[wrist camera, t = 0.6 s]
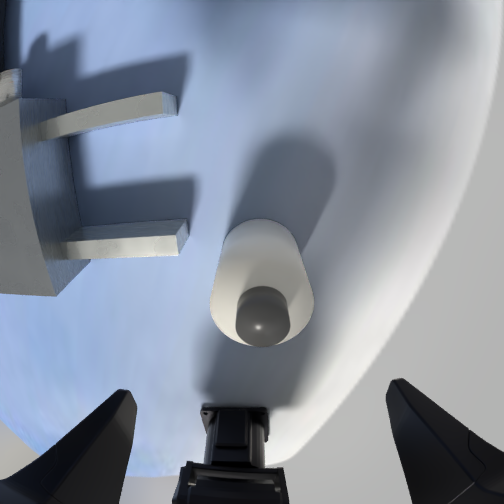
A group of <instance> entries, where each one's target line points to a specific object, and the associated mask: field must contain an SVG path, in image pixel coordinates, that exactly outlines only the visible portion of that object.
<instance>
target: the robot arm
mask: <svg viewBox="0 0 504 504" xmlns="http://www.w3.org/2000/svg"><path fill="white" fill-rule="evenodd" d="M386 403H387V408H388V413H389V418H390V423H391V429H392V433H393V438H394V441H395V444H396V448H397V451H398V454H399V457H400V461H401V464H402V467H403V471H404V474H405V478H406V482H407V485H408V489H409V492H410V496H411V500H412V504H504V452H502V451H501V450H499V449H497V448H496V447H494V446H492V445H491V444H489V443H488V442H486V441H485V440H483V439H482V438H480V437H479V436H477V435H476V434H475V433H474V432H472V431H471V430H469V429H468V428H467V427H466V426H464V425H463V424H462V423H461V422H459V421H458V420H456V419H455V418H454V417H453V416H451V415H450V414H449V413H447V412H446V411H445V410H444V409H442V408H441V407H440V406H438V405H437V404H436V403H435V402H433V401H432V400H431V399H429V398H428V397H427V396H426V395H424V394H423V393H422V392H420V391H419V390H418V389H416V388H415V387H414V386H412V385H411V384H410V383H409V382H407V381H406V380H405V379H403V378H398V379H394V380H392V381H391V382H390V385H389V388H388V390H387V393H386ZM200 414H201V417H202V421H203V424H204V427H205V430H206V433H207V439H206V447H205V455H204V464H201V463H194V462H193V461H187V463H186V466H184V467H181V470H180V476H179V481H178V485H177V487H176V490H175V493H174V496H173V499H172V504H289V497H288V491H287V486H286V480H285V475H284V470H283V467H277V468H265V448H264V442H267V441H268V410H267V409H266V408H202V409H201V411H200ZM136 415H137V404H136V402H135V400H134V398H133V396H132V394H131V392H130V391H129V390H124V389H118V390H117V391H116V392H114V393H113V394H112V395H111V396H110V397H109V398H108V399H106V400H105V401H104V402H103V403H102V404H101V405H100V406H98V407H97V408H96V409H95V410H94V411H93V412H92V413H90V414H89V415H88V416H87V417H86V418H85V419H84V420H82V421H81V422H80V423H79V424H78V425H77V426H75V427H74V428H73V429H72V430H71V431H70V432H69V433H67V434H66V435H65V436H64V437H63V438H62V439H60V440H59V441H58V442H57V443H56V445H53V446H52V447H51V448H50V449H49V450H47V451H46V452H45V453H44V454H42V455H41V456H40V457H39V458H37V459H36V460H34V461H33V462H32V463H30V464H29V465H27V466H26V467H24V468H23V469H21V470H19V471H18V472H16V473H15V474H13V475H12V476H10V477H8V478H6V479H3V480H0V504H119V500H120V496H121V491H122V487H123V482H124V478H125V474H126V469H127V465H128V461H129V457H130V453H131V449H132V444H133V437H134V429H135V422H136ZM195 484H196V485H195Z"/></svg>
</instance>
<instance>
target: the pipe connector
mask: <svg viewBox="0 0 504 504" xmlns="http://www.w3.org/2000/svg"><path fill="white" fill-rule="evenodd" d="M5 6H6V0H0V73H1V72H3V71H4V52H3V46H4V19H5Z"/></svg>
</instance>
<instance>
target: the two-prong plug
mask: <svg viewBox="0 0 504 504" xmlns="http://www.w3.org/2000/svg"><path fill="white" fill-rule="evenodd" d="M171 116H178V115H177V98H176V96H173V95H171V94H168V93H165V92H162V91H161V92H155V93H150V94H144V95H139V96H134V97H129V98H125V99H120V100H116V101H111V102H107V103H103V104H99V105H95V106H92V107H88V108H84V109H81V110H77V111H74V112H71V113H67V114H66V99H44V98H22V70H21V69H9V70H6V71H3V72H1V73H0V293H3V294H18V295H36V296H57V295H58V294H59V293H60V292H61V291H62V290H63V289H64V288H65V287H66V286H67V285H68V284H69V283H70V282H71V281H72V280H73V279H74V278H75V277H76V276H77V275H78V274H79V273H80V272H81V271H82V270H83V269H84V268H85V267H86V266H87V265H88V264H89V263H90V259H101V258H127V257H153V256H179V254H180V252H181V250H182V248H183V246H184V245H185V243H186V241H187V239H188V237H189V232H188V224H187V219H173V220H158V221H145V222H132V223H119V224H108V225H96V226H86V227H82V225H81V220H80V215H79V210H78V205H77V199H76V194H75V188H74V181H73V175H72V167H71V160H70V151H69V141H68V137H70V136H74V135H78V134H82V133H86V132H90V131H94V130H99V129H103V128H108V127H112V126H117V125H122V124H127V123H133V122H138V121H144V120H150V119H157V118H163V117H171Z"/></svg>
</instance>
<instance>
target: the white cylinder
mask: <svg viewBox="0 0 504 504" xmlns="http://www.w3.org/2000/svg"><path fill="white" fill-rule="evenodd" d="M313 309H314V296H313V292H312V289H311V286H310V283H309V279H308V276H307V273H306V270H305V267H304V264H303V261H302V258H301V255H300V252H299V250H298V247H297V244H296V241H295V239H294V237H293V235H292V234H291V233H290V231H289V230H288V229H287V228H285V227H284V226H283V225H281V224H279V223H277V222H275V221H272V220H268V219H252V220H248V221H245V222H243V223H241V224H239V225H237V226H236V227H235V228H234V229H232V230H231V231H230V233H229V234H228V235H227V237H226V238H225V241H224V243H223V246H222V250H221V255H220V259H219V263H218V267H217V271H216V275H215V280H214V284H213V288H212V293H211V297H210V311H211V315H212V317H213V320H214V322H215V323H216V325H217V326H218V328H219V329H220V330H221V331H222V332H223V333H224V334H225V335H227V336H228V337H230V338H231V339H233V340H235V341H237V342H239V343H242V344H246V345H250V346H256V347H269V346H273V345H277V344H280V343H283V342H285V341H288V340H289V339H291V338H293V337H294V336H296V335H297V334H298V333H300V332H301V331H302V330H303V329H304V327H305V326H306V325H307V323H308V322H309V320H310V318H311V316H312V313H313Z"/></svg>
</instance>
